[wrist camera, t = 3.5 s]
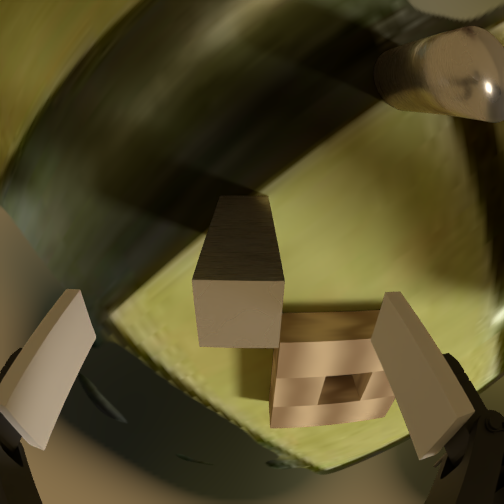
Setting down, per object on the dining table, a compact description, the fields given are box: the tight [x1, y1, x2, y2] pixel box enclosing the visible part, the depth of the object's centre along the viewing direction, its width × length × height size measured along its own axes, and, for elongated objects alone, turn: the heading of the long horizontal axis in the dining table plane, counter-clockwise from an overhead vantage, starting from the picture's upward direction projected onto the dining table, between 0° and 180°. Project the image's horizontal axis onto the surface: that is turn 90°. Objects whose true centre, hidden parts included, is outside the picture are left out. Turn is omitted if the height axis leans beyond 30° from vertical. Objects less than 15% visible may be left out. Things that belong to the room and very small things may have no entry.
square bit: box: [192, 196, 285, 348], centre depth 18 cm, size 4×4×12 cm
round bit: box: [373, 26, 504, 123], centre depth 14 cm, size 5×5×10 cm
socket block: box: [269, 310, 395, 428], centre depth 29 cm, size 14×14×4 cm
